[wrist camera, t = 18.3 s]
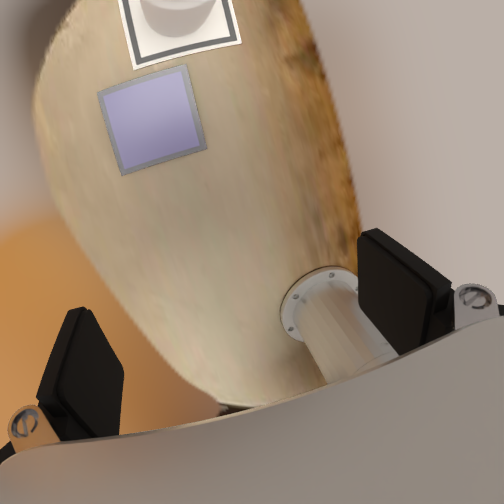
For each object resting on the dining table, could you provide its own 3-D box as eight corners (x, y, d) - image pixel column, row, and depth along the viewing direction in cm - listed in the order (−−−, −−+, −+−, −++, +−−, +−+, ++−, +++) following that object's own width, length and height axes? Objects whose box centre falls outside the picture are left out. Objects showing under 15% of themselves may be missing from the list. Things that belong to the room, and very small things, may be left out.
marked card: (219, -43, 22) (220, -44, 22) (241, 43, 28) (242, 43, 27) (114, -19, 21) (113, -20, 21) (134, 70, 26) (133, 70, 26)
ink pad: (185, 65, 27) (186, 62, 26) (206, 147, 32) (208, 150, 30) (99, 92, 26) (94, 92, 24) (123, 173, 31) (120, 178, 29)
